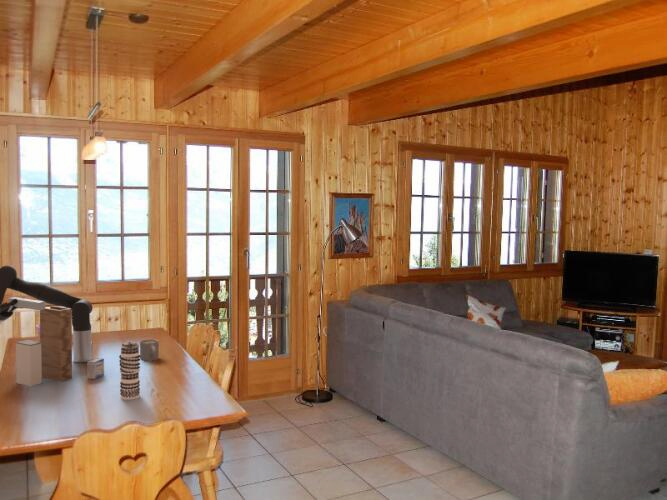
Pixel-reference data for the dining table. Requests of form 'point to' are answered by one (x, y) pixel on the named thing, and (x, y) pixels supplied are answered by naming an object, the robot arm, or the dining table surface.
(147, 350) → the coffee mug
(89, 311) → the robot arm
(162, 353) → the dining table surface
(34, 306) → the bar
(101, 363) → the medicine box
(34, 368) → the block
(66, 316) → the stand
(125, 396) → the decorative candle
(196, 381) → the dining table surface
